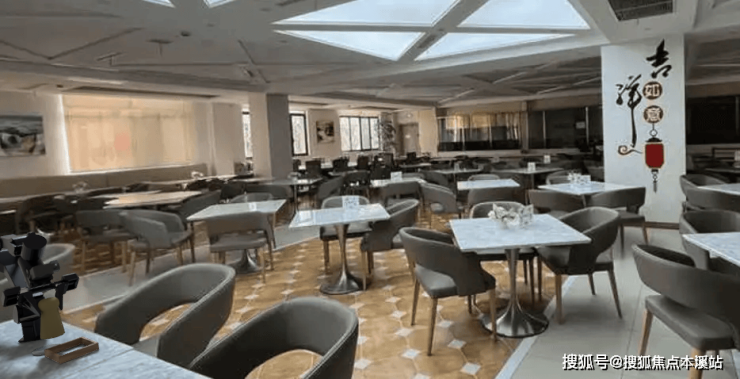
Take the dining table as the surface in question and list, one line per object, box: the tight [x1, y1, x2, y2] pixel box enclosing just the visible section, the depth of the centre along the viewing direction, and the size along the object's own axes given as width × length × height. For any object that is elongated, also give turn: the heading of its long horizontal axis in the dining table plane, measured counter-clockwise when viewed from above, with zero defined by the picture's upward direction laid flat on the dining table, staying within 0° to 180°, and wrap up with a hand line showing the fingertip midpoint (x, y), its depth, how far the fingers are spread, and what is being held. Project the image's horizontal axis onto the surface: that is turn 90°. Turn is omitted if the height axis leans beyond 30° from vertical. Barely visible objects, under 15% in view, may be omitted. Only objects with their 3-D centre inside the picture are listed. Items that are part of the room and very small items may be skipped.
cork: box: [38, 296, 66, 340], centre depth 137 cm, size 6×6×11 cm
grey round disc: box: [32, 343, 60, 357], centre depth 139 cm, size 7×7×1 cm
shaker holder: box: [44, 336, 100, 365], centre depth 136 cm, size 10×10×2 cm
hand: (51, 312), depth 136 cm, fingers closed on cork, 5 cm apart
